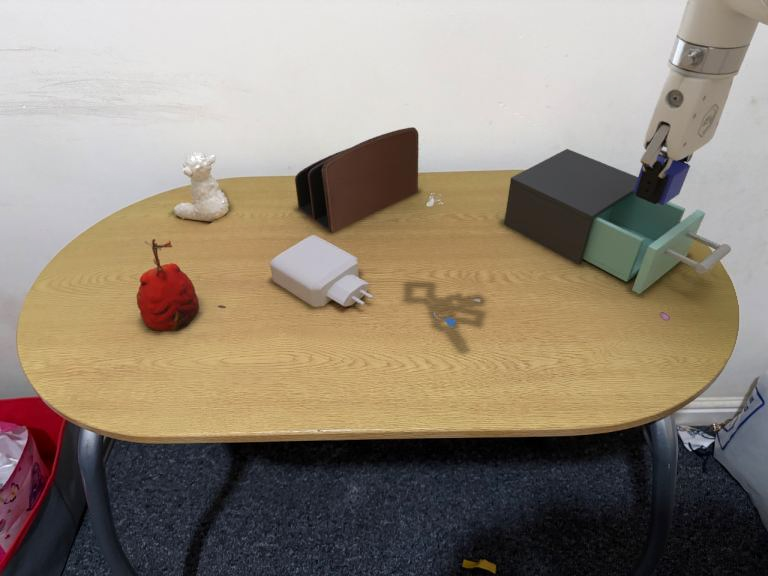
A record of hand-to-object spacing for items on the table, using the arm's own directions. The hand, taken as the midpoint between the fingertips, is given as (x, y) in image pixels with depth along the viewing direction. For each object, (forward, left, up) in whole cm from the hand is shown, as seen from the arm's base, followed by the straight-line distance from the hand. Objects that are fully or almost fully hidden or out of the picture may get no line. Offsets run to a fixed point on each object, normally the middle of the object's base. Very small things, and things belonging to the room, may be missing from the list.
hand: (657, 191), depth 74 cm
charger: (+41, +21, -13) cm, 48 cm away
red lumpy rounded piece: (+59, +33, -13) cm, 69 cm away
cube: (0, 0, 0) cm, 0 cm away
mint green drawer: (-1, 0, -12) cm, 12 cm away
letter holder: (+46, -3, -13) cm, 48 cm away
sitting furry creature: (+70, +8, -13) cm, 72 cm away
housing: (+10, -6, -13) cm, 17 cm away
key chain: (+23, +19, -13) cm, 33 cm away
